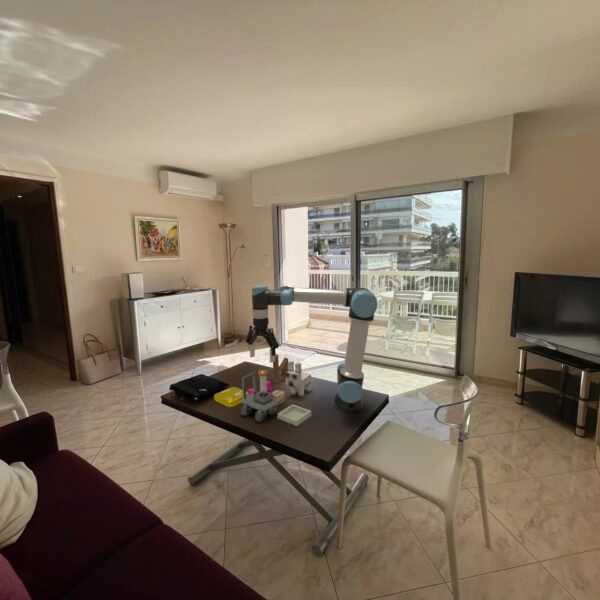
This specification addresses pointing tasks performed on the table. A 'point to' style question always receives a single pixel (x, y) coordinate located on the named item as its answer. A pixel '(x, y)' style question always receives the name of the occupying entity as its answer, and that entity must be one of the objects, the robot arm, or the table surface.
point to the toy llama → (297, 379)
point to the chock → (279, 396)
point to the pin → (263, 382)
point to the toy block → (259, 392)
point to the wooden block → (277, 368)
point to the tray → (294, 415)
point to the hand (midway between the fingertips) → (262, 359)
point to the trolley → (257, 401)
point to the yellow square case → (230, 397)
